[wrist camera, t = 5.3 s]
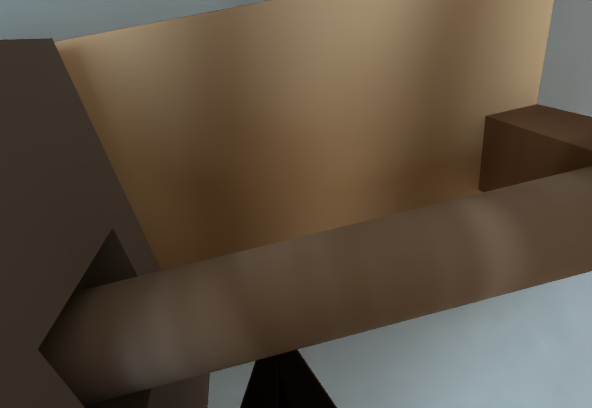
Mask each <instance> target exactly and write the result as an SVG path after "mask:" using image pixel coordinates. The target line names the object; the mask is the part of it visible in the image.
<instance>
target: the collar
mask: <svg viewBox="0 0 592 408" xmlns="http://www.w3.org/2000/svg"><path fill="white" fill-rule="evenodd" d="M158 271H161V269H160V267H159V265H158V263H157V261H156V259H155V257H154V254H153V252H152V250H151V248H150V246H149V244H148V242H147V239H146V237H145V235H144V233H143V231H142V229H141V227H140V225H139V222H138V220H137V218H136V216H135V214H134V212H133V210H132V208H131V205H130V203H129V201H128V199H127V197H126V195H125V193H124V191H123V188H122V186H121V184H120V182H119V180H118V178H117V176H116V173H115V171H114V169H113V167H112V165H111V163H110V161H109V159H108V156H107V154H106V152H105V150H104V148H103V146H102V144H101V142H100V139H99V137H98V135H97V133H96V131H95V129H94V127H93V124H92V122H91V120H90V118H89V116H88V114H87V112H86V110H85V107H84V105H83V103H82V101H81V99H80V97H79V95H78V93H77V90H76V88H75V86H74V84H73V82H72V80H71V78H70V76H69V73H68V71H67V69H66V67H65V65H64V63H63V61H62V58H61V56H60V54H59V52H58V50H57V48H56V46H55V44H54V41H53V39H52V38H50V39H17V40H0V408H207V405H208V390H209V375H210V374H209V373H207V374H203V375H199V376H195V377H192V378H188V379H184V380H180V381H177V382H173V383H169V384H165V385H162V386H158V387H154V388H150V389H147V390H143V391H139V392H135V393H131V394H128V395H124V396H120V397H116V398H113V399H109V400H105V401H101V402H98V403H94V404H90V405H86V406H83V404H82V403H81V402H80V401H79V399H78V398H77V397H76V396H75V395H74V393H73V392H72V391H71V390H70V388H69V387H68V386H67V385H66V384H65V382H64V381H63V380H62V379H61V377H60V376H59V375H58V374H57V372H56V371H55V370H54V369H53V368H52V366H51V365H50V364H49V363H48V361H47V360H46V359H45V358H44V356H43V355H42V354H41V353H40V352H39V350H38V348H39V347H40V345H41V343H42V342H43V340H44V338H45V337H46V335H47V334H48V332H49V330H50V329H51V327H52V325H53V324H54V322H55V321H56V319H57V317H58V316H59V314H60V312H61V311H62V309H63V308H64V306H65V304H66V303H67V301H68V299H69V298H70V296H71V295H72V293H73V292H76V291H80V290H84V289H88V288H92V287H96V286H100V285H104V284H108V283H113V282H117V281H121V280H125V279H129V278H133V277H137V276H141V275H145V274H150V273H154V272H158Z"/></svg>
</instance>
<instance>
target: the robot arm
mask: <svg viewBox="0 0 592 408" xmlns="http://www.w3.org/2000/svg"><path fill="white" fill-rule="evenodd" d="M240 408H337V407H336V406H335V404H334V403H333V401H332V400H331V398H330V397H329V395H328V394H327V392H326V391H325V389H324V388H323V387H322V385H321V384H320V382H319V381H318V379H317V378H316V376H315V375H314V373H313V372H312V370H311V369H310V367H309V366H308V365H307V363H306V362H305V360H304V359H303V357H302V356H301V354H300V353H299V351H298V350H293V351H289V352H285V353H282V354H278V355H274V356H270V357H267V358H263V359H259V360H256V362H255V365H254V368H253V371H252V374H251V377H250V380H249V383H248V386H247V389H246V392H245V395H244V398H243V401H242V404H241V407H240Z"/></svg>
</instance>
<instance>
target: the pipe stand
mask: <svg viewBox="0 0 592 408" xmlns="http://www.w3.org/2000/svg"><path fill="white" fill-rule="evenodd" d="M553 4H554V0H269V1H264V2H259V3H254V4H249V5H243V6H238V7H233V8H228V9H223V10H217V11H212V12H207V13H202V14H197V15H192V16H186V17H181V18H176V19H171V20H166V21H160V22H155V23H150V24H145V25H140V26H134V27H129V28H124V29H119V30H114V31H109V32H103V33H98V34H93V35H88V36H83V37H77V38H72V39H67V40H62V41H57V42H54V44H55V46H56V48H57V50H58V52H59V54H60V56H61V58H62V61H63V63H64V65H65V67H66V69H67V71H68V73H69V76H70V78H71V80H72V82H73V84H74V86H75V88H76V90H77V93H78V95H79V97H80V99H81V101H82V103H83V105H84V107H85V110H86V112H87V114H88V116H89V118H90V120H91V122H92V124H93V127H94V129H95V131H96V133H97V135H98V137H99V139H100V142H101V144H102V146H103V148H104V150H105V152H106V154H107V156H108V159H109V161H110V163H111V165H112V167H113V169H114V171H115V173H116V176H117V178H118V180H119V182H120V184H121V186H122V188H123V191H124V193H125V195H126V197H127V199H128V201H129V203H130V205H131V208H132V210H133V212H134V214H135V216H136V218H137V220H138V222H139V225H140V227H141V229H142V231H143V233H144V235H145V237H146V239H147V242H148V244H149V246H150V248H151V250H152V252H153V254H154V257H155V259H156V261H157V263H158V265H159V267H160V269H161V271H158V272H154V273H150V274H145V275H141V276H137V277H133V278H129V279H125V280H121V281H117V282H113V283H108V284H104V285H100V286H96V287H92V288H88V289H84V290H80V291H76V292H73V293H72V295H71V296H70V298H69V299H68V301H67V303H66V304H65V306H64V308H63V309H62V311H61V312H60V314H59V316H58V317H57V319H56V321H55V322H54V324H53V325H52V327H51V329H50V330H49V332H48V334H47V335H46V337H45V338H44V340H43V342H42V343H41V345H40V347H39V348H38V350H39V352H40V353H41V354H42V355H43V356H44V358H45V359H46V360H47V361H48V363H49V364H50V365H51V366H52V368H53V369H54V370H55V371H56V372H57V374H58V375H59V376H60V377H61V379H62V380H63V381H64V382H65V384H66V385H67V386H68V387H69V388H70V390H71V391H72V392H73V393H74V395H75V396H76V397H77V398H78V399H79V401H80V402H81V403H82V404H83V406H86V405H90V404H94V403H98V402H101V401H105V400H109V399H113V398H116V397H120V396H124V395H128V394H131V393H135V392H139V391H143V390H147V389H150V388H154V387H158V386H162V385H165V384H169V383H173V382H177V381H180V380H184V379H188V378H192V377H195V376H199V375H203V374H207V373H210V372H214V371H218V370H222V369H225V368H229V367H233V366H237V365H240V364H244V363H248V362H252V361H255V360H259V359H263V358H267V357H270V356H274V355H278V354H282V353H285V352H289V351H293V350H297V349H300V348H304V347H308V346H312V345H316V344H319V343H323V342H327V341H331V340H334V339H338V338H342V337H346V336H349V335H353V334H357V333H361V332H364V331H368V330H372V329H376V328H379V327H383V326H387V325H391V324H394V323H398V322H402V321H406V320H409V319H413V318H417V317H421V316H424V315H428V314H432V313H436V312H439V311H443V310H447V309H451V308H454V307H458V306H462V305H466V304H469V303H473V302H477V301H481V300H485V299H488V298H492V297H496V296H500V295H503V294H507V293H511V292H515V291H518V290H522V289H526V288H530V287H533V286H537V285H541V284H545V283H548V282H552V281H556V280H560V279H563V278H567V277H571V276H575V275H578V274H582V273H586V272H590V271H592V117H589V116H585V115H580V114H576V113H572V112H568V111H563V110H559V109H555V108H551V107H546V106H542V105H538V104H537V99H538V93H539V87H540V81H541V75H542V69H543V63H544V57H545V51H546V45H547V39H548V34H549V28H550V22H551V16H552V10H553Z"/></svg>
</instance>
